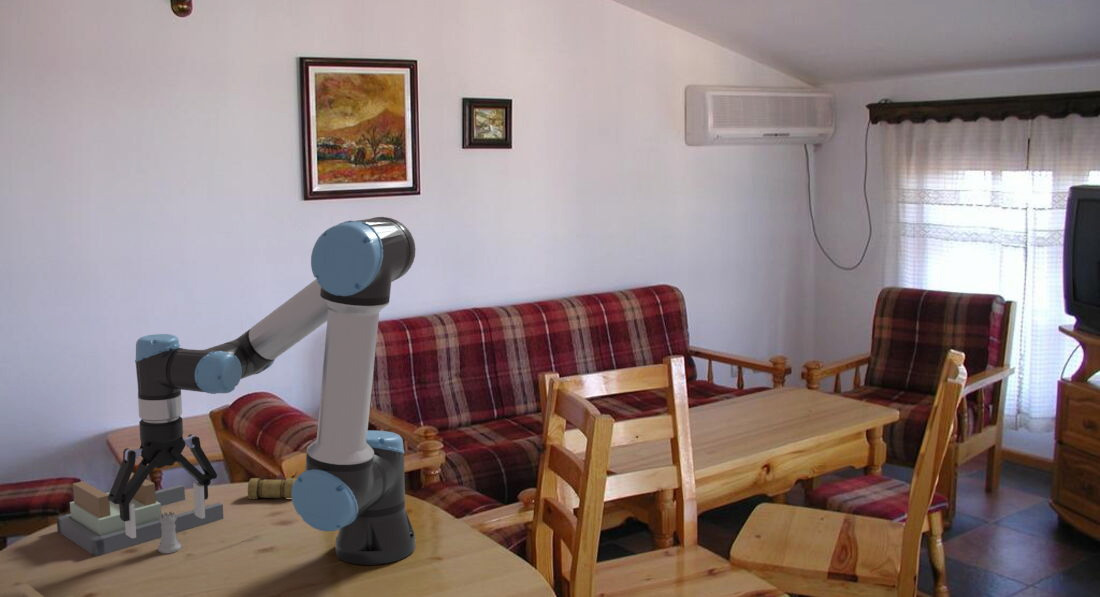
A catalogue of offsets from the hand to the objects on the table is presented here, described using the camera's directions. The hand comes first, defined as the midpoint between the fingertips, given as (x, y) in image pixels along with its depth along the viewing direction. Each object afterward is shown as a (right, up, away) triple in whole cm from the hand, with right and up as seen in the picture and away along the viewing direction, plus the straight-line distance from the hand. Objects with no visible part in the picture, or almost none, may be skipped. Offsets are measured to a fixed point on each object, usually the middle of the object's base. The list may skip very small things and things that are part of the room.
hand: (166, 526), depth 190 cm
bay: (-10, -4, +13) cm, 17 cm away
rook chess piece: (0, -6, +1) cm, 6 cm away
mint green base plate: (-13, -3, +9) cm, 17 cm away
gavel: (+12, 0, +39) cm, 41 cm away
